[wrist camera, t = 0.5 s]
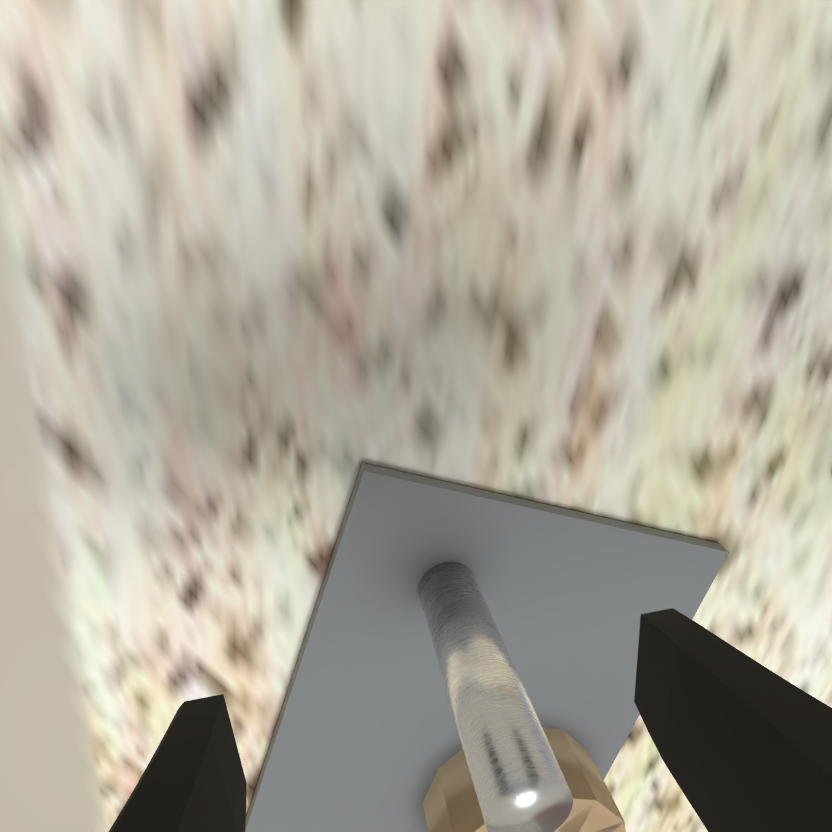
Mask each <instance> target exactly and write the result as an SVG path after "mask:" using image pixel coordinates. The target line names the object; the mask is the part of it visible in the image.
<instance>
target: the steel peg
mask: <svg viewBox="0 0 832 832" xmlns="http://www.w3.org/2000/svg"><path fill="white" fill-rule="evenodd" d="M418 594H419V598H420V602H421V605H422V608H423V612H424V615H425V619H426V622H427V626H428V629H429V633H430V636H431V639H432V643H433V646H434V650H435V653H436V657H437V660H438V664H439V667H440V670H441V674H442V677H443V681H444V684H445V688H446V691H447V695H448V698H449V701H450V705H451V708H452V712H453V715H454V719H455V722H456V726H457V729H458V732H459V736H460V739H461V743H462V746H463V750H464V753H465V757H466V760H467V763H468V767H469V770H470V774H471V777H472V781H473V784H474V788H475V791H476V794H477V798H478V801H479V805H480V808H481V812H482V815H483V819H484V822H485V825H486V829H487V831H488V832H554V831H555V830H557V829H558V828H559V827H560V826H561V825H562V824H563V823H564V822H565V820H566V819H567V818H568V816H569V814H570V812H571V810H572V806H573V797H572V794H571V791H570V789H569V787H568V785H567V782H566V780H565V778H564V776H563V773H562V771H561V769H560V767H559V764H558V762H557V760H556V758H555V755H554V753H553V751H552V749H551V746H550V744H549V742H548V740H547V737H546V735H545V733H544V731H543V729H542V726H541V724H540V722H539V720H538V717H537V715H536V713H535V711H534V708H533V706H532V704H531V702H530V699H529V697H528V695H527V693H526V690H525V688H524V686H523V684H522V681H521V679H520V677H519V675H518V672H517V670H516V668H515V666H514V663H513V661H512V659H511V657H510V655H509V652H508V650H507V648H506V646H505V643H504V641H503V639H502V637H501V634H500V632H499V630H498V628H497V625H496V623H495V621H494V619H493V616H492V614H491V612H490V610H489V607H488V605H487V603H486V601H485V598H484V596H483V594H482V592H481V589H480V587H479V585H478V583H477V581H476V578H475V576H474V574H473V572H472V571H471V570H470V569H469V568H468V567H467V566H465V565H464V564H461V563H458V562H444V563H441V564H438V565H436V566H434V567H432V568H431V569H429V570H428V571H427V572H426V573H425V574H424V575H423V577H422V578H421V580H420V582H419V586H418Z"/></svg>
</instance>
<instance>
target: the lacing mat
mask: <svg viewBox="0 0 832 832" xmlns="http://www.w3.org/2000/svg"><path fill="white" fill-rule="evenodd" d="M728 553H729V552H728V551H727V550H726V549H725V548H724V547H722V546H721V545H720V544H719V543H715V542H711V541H707V540H702V539H698V538H693V537H689V536H684V535H680V534H676V533H671V532H667V531H662V530H658V529H653V528H649V527H645V526H640V525H636V524H631V523H627V522H622V521H618V520H614V519H609V518H605V517H600V516H596V515H591V514H587V513H583V512H578V511H574V510H569V509H565V508H561V507H556V506H552V505H547V504H543V503H538V502H534V501H530V500H525V499H521V498H516V497H512V496H507V495H503V494H499V493H494V492H490V491H485V490H481V489H476V488H472V487H468V486H463V485H459V484H454V483H450V482H445V481H441V480H437V479H432V478H428V477H423V476H419V475H414V474H410V473H406V472H401V471H397V470H392V469H388V468H384V467H379V466H375V465H370V464H366V463H362V465H361V468H360V471H359V474H358V477H357V480H356V483H355V486H354V489H353V492H352V495H351V498H350V501H349V504H348V508H347V511H346V514H345V517H344V520H343V523H342V526H341V529H340V532H339V535H338V538H337V541H336V544H335V547H334V550H333V553H332V556H331V560H330V563H329V566H328V569H327V572H326V575H325V578H324V581H323V584H322V587H321V590H320V593H319V596H318V599H317V602H316V605H315V608H314V611H313V615H312V618H311V621H310V624H309V627H308V630H307V633H306V636H305V639H304V642H303V645H302V648H301V651H300V654H299V657H298V660H297V663H296V667H295V670H294V673H293V676H292V679H291V682H290V685H289V688H288V691H287V694H286V697H285V700H284V703H283V706H282V709H281V712H280V715H279V719H278V722H277V725H276V728H275V731H274V734H273V737H272V740H271V743H270V746H269V749H268V752H267V755H266V758H265V761H264V764H263V767H262V770H261V774H260V777H259V780H258V783H257V786H256V789H255V792H254V795H253V798H252V801H251V804H250V807H249V810H248V813H247V816H246V822H245V832H428V828H427V823H426V818H425V813H424V808H423V801H424V799H425V797H426V794H427V792H428V790H429V787H430V785H431V783H432V781H433V778H434V776H435V774H436V772H437V769H438V768H439V767H440V766H441V765H443V764H444V763H445V762H446V761H448V760H449V759H450V758H451V757H453V756H454V755H455V754H456V753H458V752H459V751H460V750H461V749H463V746H462V743H461V739H460V736H459V732H458V729H457V726H456V722H455V719H454V715H453V712H452V708H451V705H450V701H449V698H448V695H447V691H446V688H445V684H444V681H443V677H442V674H441V670H440V667H439V664H438V660H437V657H436V653H435V650H434V646H433V643H432V639H431V636H430V633H429V629H428V626H427V622H426V619H425V615H424V612H423V608H422V605H421V602H420V598H419V594H418V586H419V582H420V580H421V578H422V577H423V575H424V574H425V573H426V572H427V571H428V570H429V569H431V568H432V567H434V566H436V565H438V564H441V563H444V562H458V563H461V564H464V565H465V566H467V567H468V568H469V569H470V570H471V571H472V572H473V574H474V576H475V578H476V581H477V583H478V585H479V587H480V589H481V592H482V594H483V596H484V598H485V601H486V603H487V605H488V607H489V610H490V612H491V614H492V616H493V619H494V621H495V623H496V625H497V628H498V630H499V632H500V634H501V637H502V639H503V641H504V643H505V646H506V648H507V650H508V652H509V655H510V657H511V659H512V661H513V663H514V666H515V668H516V670H517V672H518V675H519V677H520V679H521V681H522V684H523V686H524V688H525V690H526V693H527V695H528V697H529V699H530V702H531V704H532V706H533V708H534V711H535V713H536V715H537V717H538V720H539V722H540V724H541V726H542V727H544V728H553V729H562V730H564V731H565V732H566V733H567V734H568V735H570V736H571V737H572V738H573V739H575V740H576V741H577V742H578V743H579V744H581V745H582V746H583V747H584V748H585V749H587V750H588V751H589V753H590V755H591V757H592V759H593V761H594V763H595V765H596V767H597V769H598V771H599V773H600V775H601V777H602V779H603V780H604V778H605V776H606V774H607V773H608V771H609V769H610V767H611V765H612V764H613V762H614V760H615V758H616V756H617V754H618V753H619V751H620V749H621V747H622V745H623V744H624V742H625V740H626V738H627V736H628V735H629V733H630V731H631V729H632V727H633V725H634V724H635V722H636V720H637V718H638V716H639V715H640V713H639V711H638V709H637V706H636V704H635V702H634V697H635V684H636V670H637V657H638V644H639V630H640V617H641V614H645V613H650V612H655V611H660V610H665V609H671V608H673V609H675V610H677V611H678V612H680V613H682V614H683V615H685V616H686V617H688V618H690V619H691V620H692V618H693V617H694V615H695V613H696V611H697V609H698V608H699V606H700V604H701V602H702V600H703V598H704V597H705V595H706V593H707V591H708V589H709V588H710V586H711V584H712V582H713V580H714V579H715V577H716V575H717V573H718V571H719V569H720V568H721V566H722V564H723V562H724V560H725V559H726V557H727V555H728Z"/></svg>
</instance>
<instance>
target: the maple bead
mask: <svg viewBox="0 0 832 832" xmlns="http://www.w3.org/2000/svg"><path fill="white" fill-rule="evenodd" d="M542 729H543V731H544V733H545V735H546V737H547V740H548V742H549V744H550V746H551V749H552V751H553V753H554V755H555V758H556V760H557V762H558V764H559V767H560V769H561V771H562V773H563V776H564V778H565V780H566V782H567V785H568V787H569V789H570V791H571V794H572V797H573V806H572V810H571V812H570V814H569V816H568V818H567V819H566V820H565V822H564V823H563V824H562V825H561V826H560V827H559V828H558V829H557V830H555V831H554V832H625V823H624V820H623V818H622V816H621V814H620V812H619V810H618V808H617V806H616V804H615V802H614V800H613V798H612V796H611V794H610V792H609V791H608V789H607V787H606V785H605V783H604V781H603V779H602V777H601V775H600V773H599V771H598V769H597V767H596V765H595V763H594V761H593V759H592V757H591V755H590V753H589V751H588V750H587V749H585V748H584V747H583V746H582V745H581V744H579V743H578V742H577V741H576V740H575V739H573V738H572V737H571V736H570V735H568V734H567V733H566V732H565V731H564V730H562V729H553V728H544V727H542ZM423 808H424V813H425V818H426V823H427V828H428V832H488V831H487V829H486V825H485V822H484V819H483V815H482V812H481V808H480V805H479V801H478V798H477V794H476V791H475V788H474V784H473V781H472V777H471V774H470V770H469V767H468V763H467V760H466V757H465V753H464V750H463V749H461V750H460V751H459V752H458V753H456V754H455V755H454V756H453V757H451V758H450V759H449V760H448V761H446V762H445V763H444V764H443V765H441V766H440V767H439V768H438V769H437V772H436V774H435V776H434V778H433V781H432V783H431V785H430V787H429V790H428V792H427V794H426V797H425V799H424V801H423Z"/></svg>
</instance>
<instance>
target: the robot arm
mask: <svg viewBox="0 0 832 832" xmlns="http://www.w3.org/2000/svg"><path fill="white" fill-rule="evenodd" d="M634 702H635V704H636V706H637V709H638V711H639V713H640V715H641V717H642V719H643V721H644V723H645V725H646V727H647V730H648V732H649V734H650V736H651V738H652V740H653V742H654V743H655V745H656V747H657V749H658V751H659V753H660V755H661V757H662V759H663V761H664V762H665V764H666V766H667V767H668V769H669V771H670V772H671V774H672V775H673V777H674V779H675V780H676V782H677V783H678V785H679V786H680V788H681V790H682V791H683V793H684V794H685V796H686V797H687V799H688V801H689V802H690V804H691V805H692V807H693V808H694V810H695V812H696V813H697V815H698V816H699V818H700V819H701V821H702V822H703V824H704V825H705V827H706V829H707V830H708V832H832V708H831V707H829V706H827V705H826V704H824V703H822V702H821V701H819V700H817V699H816V698H814V697H812V696H811V695H809V694H807V693H806V692H804V691H802V690H801V689H799V688H797V687H796V686H794V685H793V684H791V683H789V682H788V681H786V680H785V679H783V678H781V677H780V676H778V675H777V674H775V673H773V672H772V671H770V670H769V669H767V668H765V667H764V666H762V665H761V664H759V663H758V662H756V661H755V660H753V659H751V658H750V657H748V656H747V655H745V654H744V653H742V652H741V651H739V650H738V649H736V648H734V647H733V646H731V645H730V644H728V643H727V642H725V641H724V640H722V639H721V638H719V637H718V636H716V635H714V634H713V633H711V632H710V631H708V630H707V629H705V628H704V627H702V626H701V625H699V624H697V623H696V622H694V621H693V620H691V619H690V618H688V617H686V616H685V615H683V614H682V613H680V612H678V611H677V610H675V609H673V608H671V609H665V610H660V611H655V612H650V613H645V614H641V617H640V630H639V644H638V657H637V670H636V684H635V697H634ZM245 822H246V780H245V776H244V772H243V769H242V765H241V761H240V757H239V753H238V749H237V745H236V742H235V738H234V734H233V730H232V726H231V722H230V718H229V715H228V711H227V707H226V703H225V699H224V695H223V694H222V695H217V696H212V697H207V698H201V699H196V700H191V701H186V702H184V703H183V704H182V705H181V706H180V708H179V709H178V711H177V713H176V715H175V716H174V718H173V720H172V722H171V724H170V726H169V728H168V730H167V731H166V733H165V735H164V737H163V739H162V741H161V743H160V744H159V746H158V748H157V750H156V752H155V754H154V755H153V757H152V759H151V761H150V763H149V764H148V766H147V768H146V770H145V771H144V773H143V775H142V777H141V778H140V780H139V782H138V784H137V785H136V787H135V789H134V791H133V792H132V794H131V796H130V797H129V799H128V801H127V802H126V804H125V806H124V807H123V809H122V811H121V812H120V814H119V816H118V817H117V819H116V821H115V822H114V824H113V826H112V827H111V829H110V831H109V832H245Z"/></svg>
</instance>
